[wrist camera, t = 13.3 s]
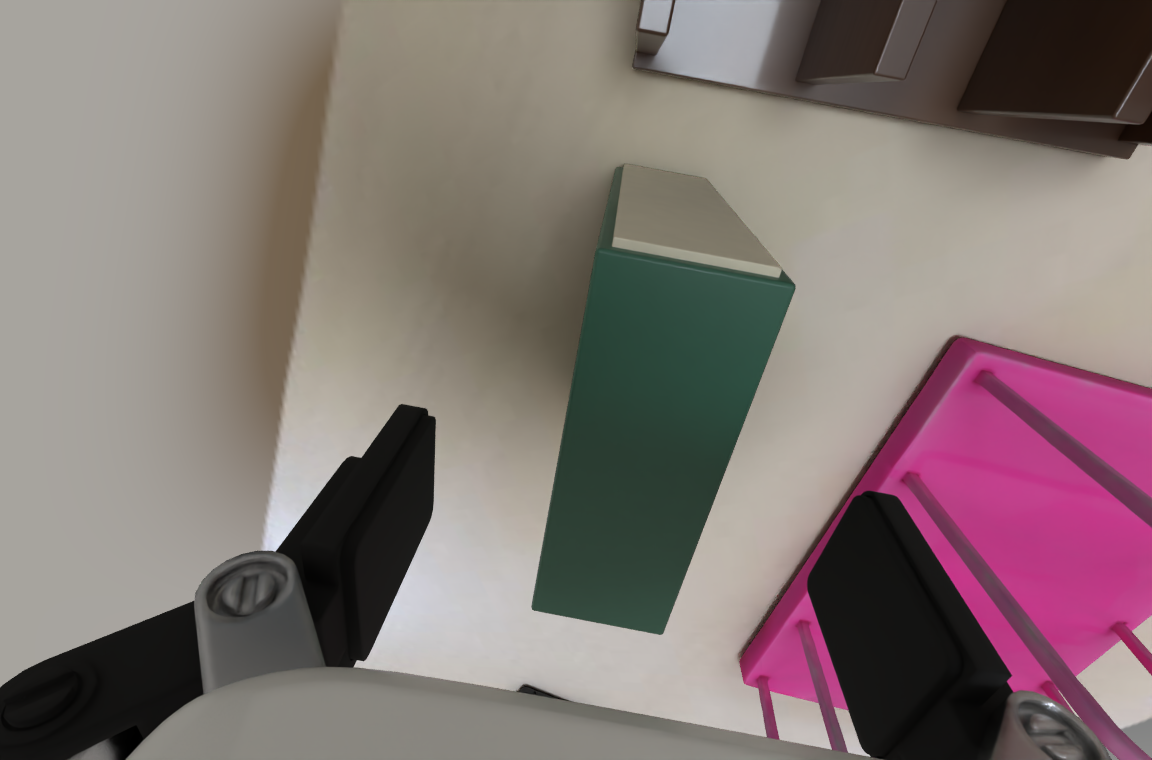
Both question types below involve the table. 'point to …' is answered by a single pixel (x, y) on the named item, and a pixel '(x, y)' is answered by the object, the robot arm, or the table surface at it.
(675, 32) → the book rack
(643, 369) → the green book
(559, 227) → the table surface
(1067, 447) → the file sorter
